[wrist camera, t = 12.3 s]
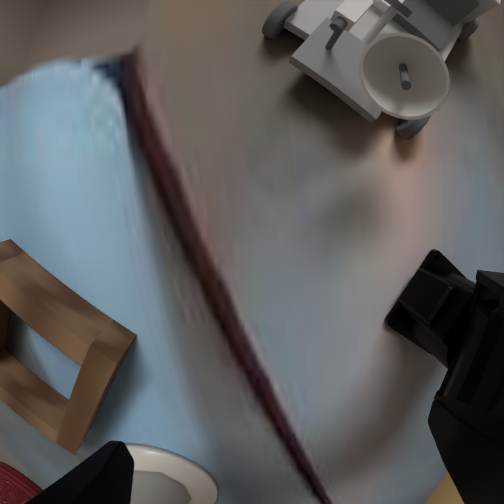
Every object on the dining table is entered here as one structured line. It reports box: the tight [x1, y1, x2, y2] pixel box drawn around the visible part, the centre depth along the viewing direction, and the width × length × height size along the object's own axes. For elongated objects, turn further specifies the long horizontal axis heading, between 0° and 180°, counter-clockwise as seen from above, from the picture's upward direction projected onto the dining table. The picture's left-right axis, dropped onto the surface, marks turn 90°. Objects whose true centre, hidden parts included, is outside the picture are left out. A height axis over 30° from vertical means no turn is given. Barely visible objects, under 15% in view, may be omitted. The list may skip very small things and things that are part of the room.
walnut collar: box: [0, 239, 136, 455], centre depth 18 cm, size 13×13×4 cm
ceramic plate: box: [125, 443, 218, 504], centre depth 23 cm, size 13×13×1 cm
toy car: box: [262, 0, 501, 139], centre depth 12 cm, size 18×10×12 cm
